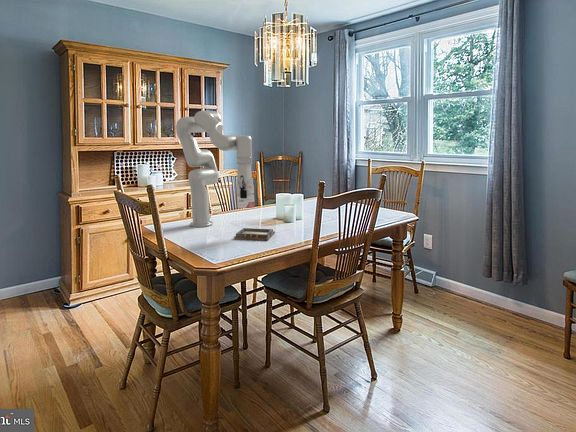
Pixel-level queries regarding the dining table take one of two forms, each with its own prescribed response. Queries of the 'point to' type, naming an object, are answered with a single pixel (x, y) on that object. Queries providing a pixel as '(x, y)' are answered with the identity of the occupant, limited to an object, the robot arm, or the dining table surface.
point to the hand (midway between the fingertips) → (245, 196)
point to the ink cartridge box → (249, 200)
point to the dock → (254, 234)
